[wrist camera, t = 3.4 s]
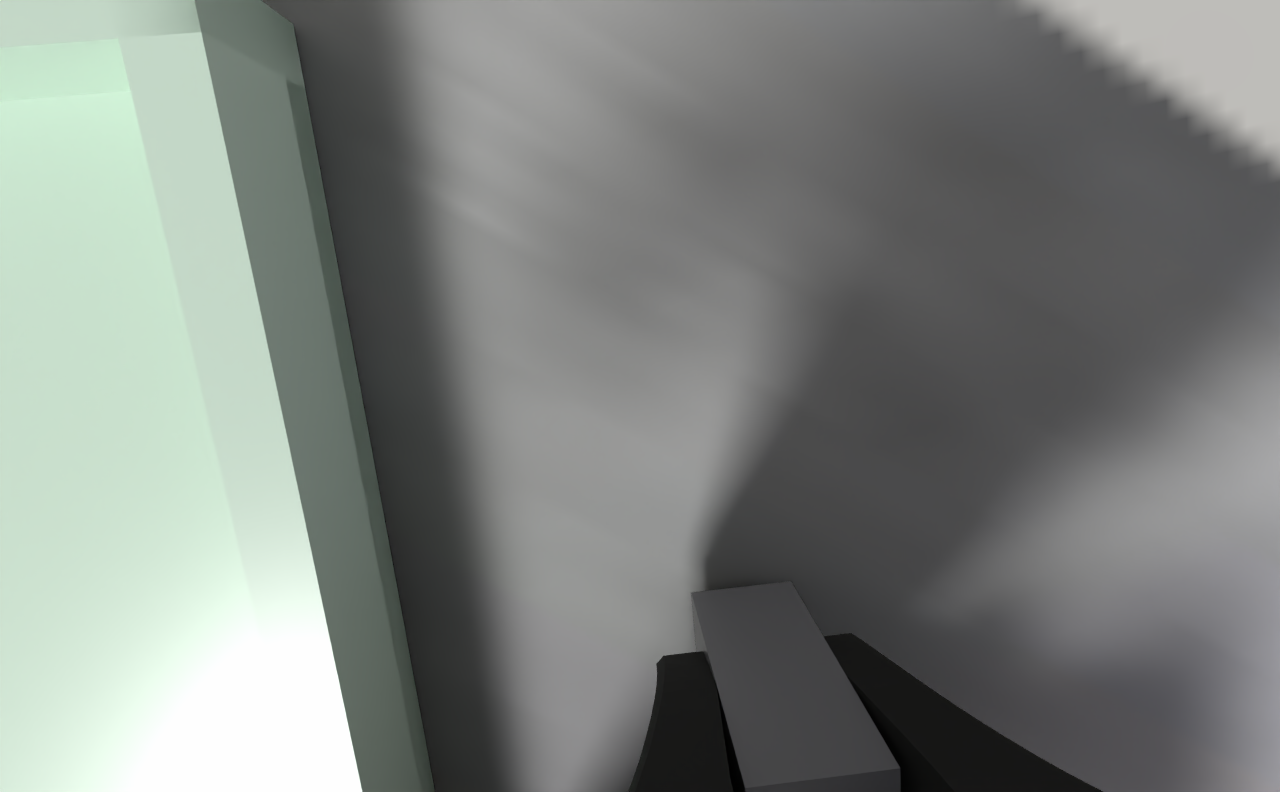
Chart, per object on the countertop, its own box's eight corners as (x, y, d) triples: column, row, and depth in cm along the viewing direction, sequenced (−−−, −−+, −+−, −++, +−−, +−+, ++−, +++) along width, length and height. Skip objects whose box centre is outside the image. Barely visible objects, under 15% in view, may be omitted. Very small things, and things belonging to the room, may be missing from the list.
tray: (292, 24, 9) (182, -58, 7) (461, 933, 12) (428, 1104, 10) (-449, 81, 9) (-858, 17, 6) (-71, 1006, 12) (-243, 1202, 9)
